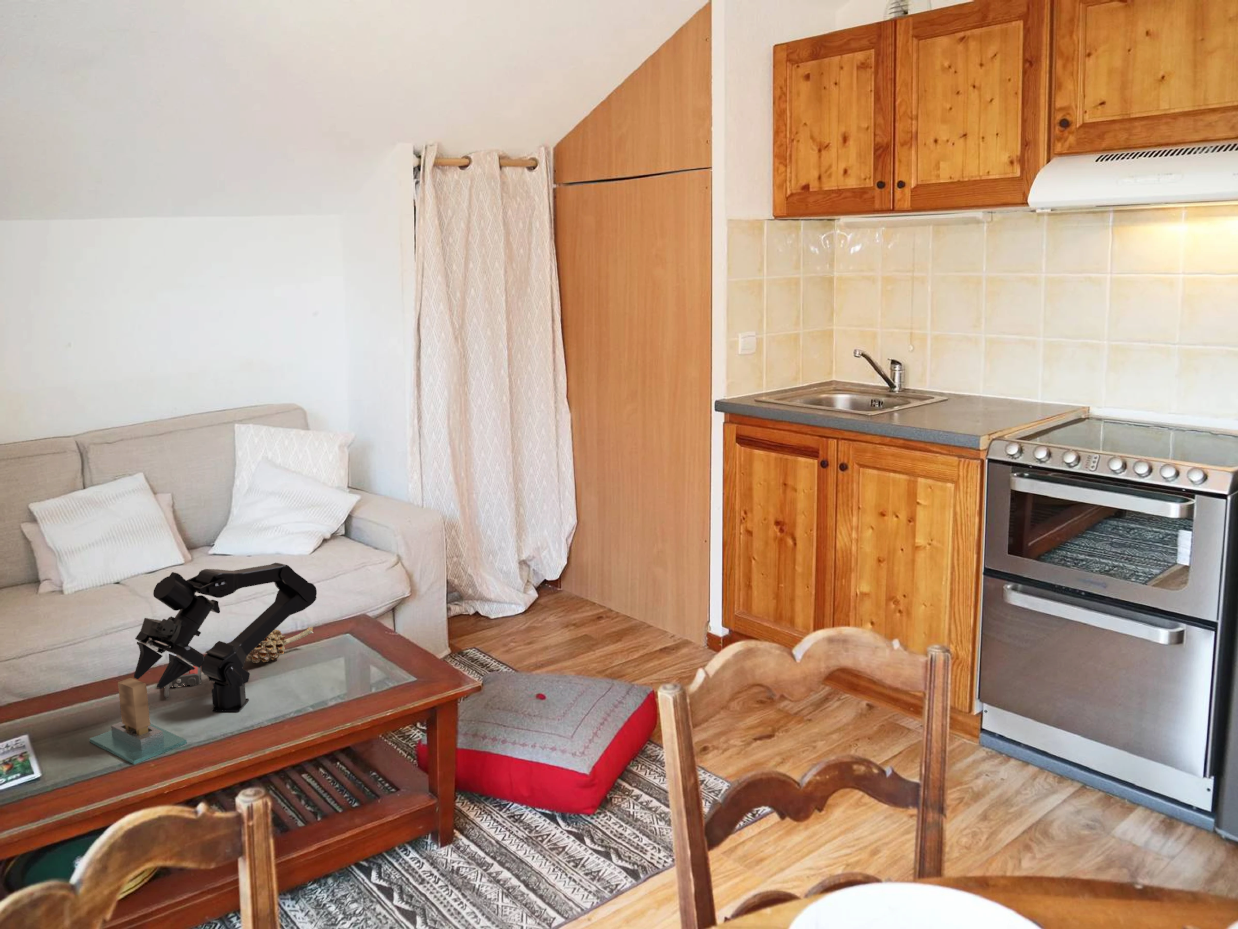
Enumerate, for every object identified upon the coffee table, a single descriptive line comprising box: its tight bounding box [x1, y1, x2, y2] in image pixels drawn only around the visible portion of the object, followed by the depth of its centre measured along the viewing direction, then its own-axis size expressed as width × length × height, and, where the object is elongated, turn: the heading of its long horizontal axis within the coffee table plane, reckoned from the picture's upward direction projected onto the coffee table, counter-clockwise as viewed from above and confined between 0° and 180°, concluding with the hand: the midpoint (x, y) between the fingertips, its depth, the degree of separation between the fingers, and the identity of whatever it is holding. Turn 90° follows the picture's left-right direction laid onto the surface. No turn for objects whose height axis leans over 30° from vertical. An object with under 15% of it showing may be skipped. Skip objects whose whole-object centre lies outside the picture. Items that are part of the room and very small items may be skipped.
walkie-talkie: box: [163, 666, 202, 698], centre depth 265 cm, size 9×4×20 cm
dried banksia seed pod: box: [245, 626, 314, 664], centre depth 281 cm, size 22×10×10 cm, turn 140°
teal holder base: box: [89, 721, 188, 765], centre depth 233 cm, size 18×12×3 cm, turn 53°
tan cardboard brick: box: [117, 677, 151, 735], centre depth 232 cm, size 6×3×13 cm, turn 54°
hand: (147, 683), depth 233 cm, fingers open, 9 cm apart
